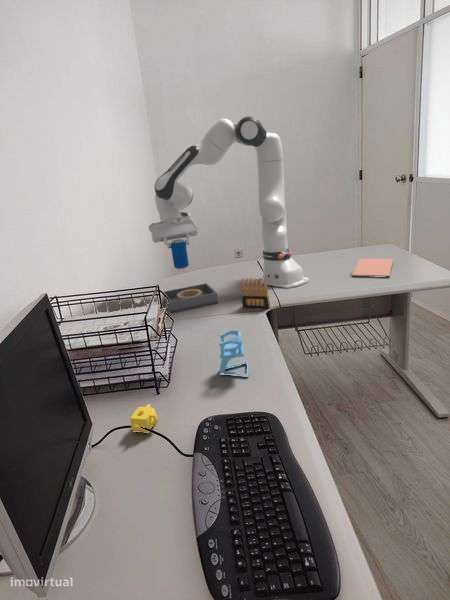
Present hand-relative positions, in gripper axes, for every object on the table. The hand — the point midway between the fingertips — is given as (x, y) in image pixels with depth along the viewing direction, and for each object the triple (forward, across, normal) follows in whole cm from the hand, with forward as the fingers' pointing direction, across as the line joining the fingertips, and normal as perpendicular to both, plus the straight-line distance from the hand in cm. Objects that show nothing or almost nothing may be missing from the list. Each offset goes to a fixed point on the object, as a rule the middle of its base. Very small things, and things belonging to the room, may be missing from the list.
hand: (178, 245), depth 174 cm
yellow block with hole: (+79, -29, -46) cm, 96 cm away
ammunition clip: (+38, +21, -5) cm, 44 cm away
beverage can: (+7, 0, +8) cm, 10 cm away
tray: (+23, 0, +10) cm, 25 cm away
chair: (+68, -2, -36) cm, 77 cm away
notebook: (+28, +86, +7) cm, 91 cm away
